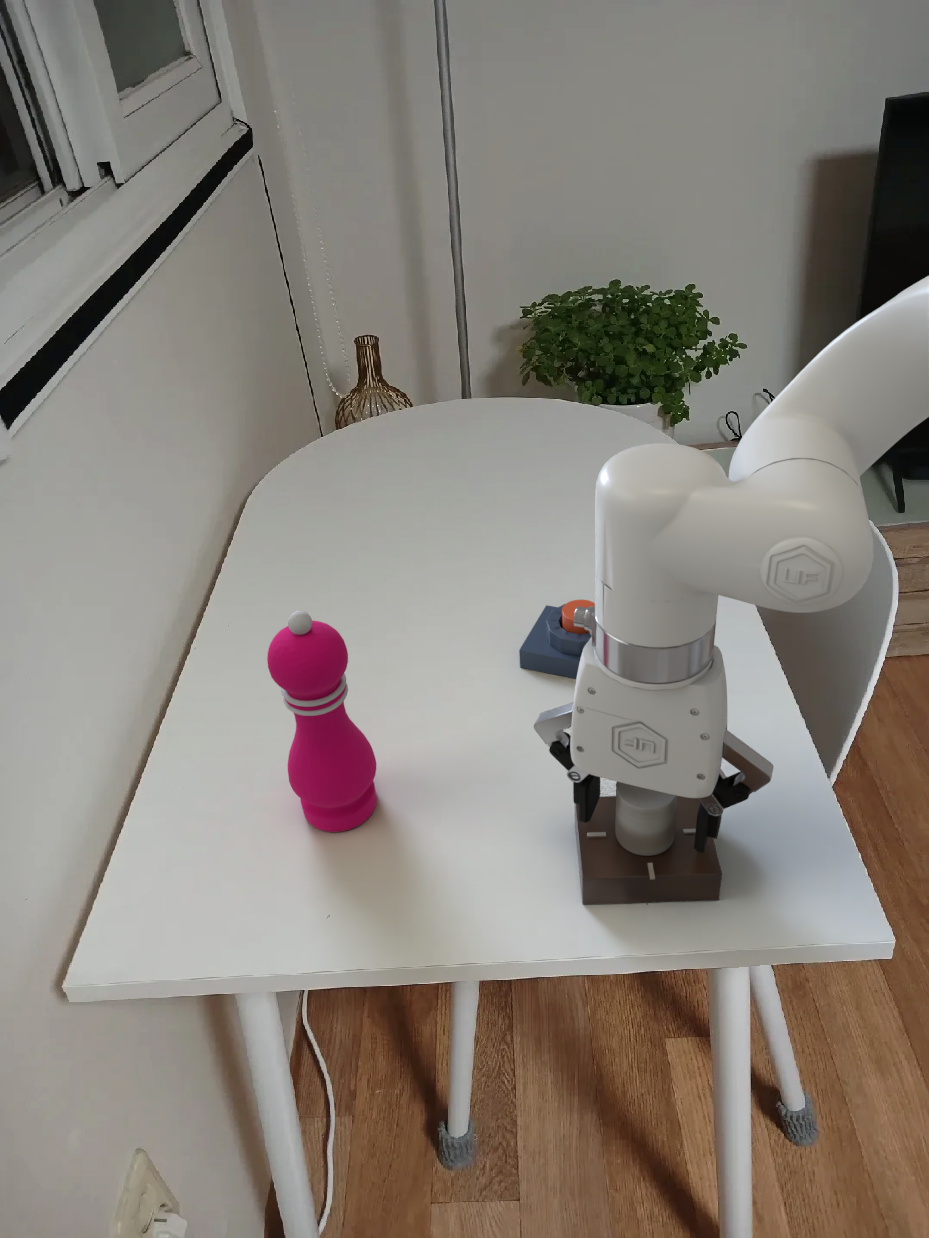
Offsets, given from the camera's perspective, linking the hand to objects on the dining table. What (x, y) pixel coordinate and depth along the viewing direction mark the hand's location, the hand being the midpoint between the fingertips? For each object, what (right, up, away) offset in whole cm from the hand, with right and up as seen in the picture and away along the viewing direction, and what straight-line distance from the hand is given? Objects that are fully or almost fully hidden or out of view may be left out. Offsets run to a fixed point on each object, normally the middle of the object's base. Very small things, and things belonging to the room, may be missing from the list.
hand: (645, 822), depth 71 cm
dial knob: (0, -1, +1) cm, 1 cm away
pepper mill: (-24, -1, +10) cm, 26 cm away
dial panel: (0, -3, +2) cm, 4 cm away
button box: (-2, +12, +24) cm, 27 cm away
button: (-2, +15, +22) cm, 26 cm away
